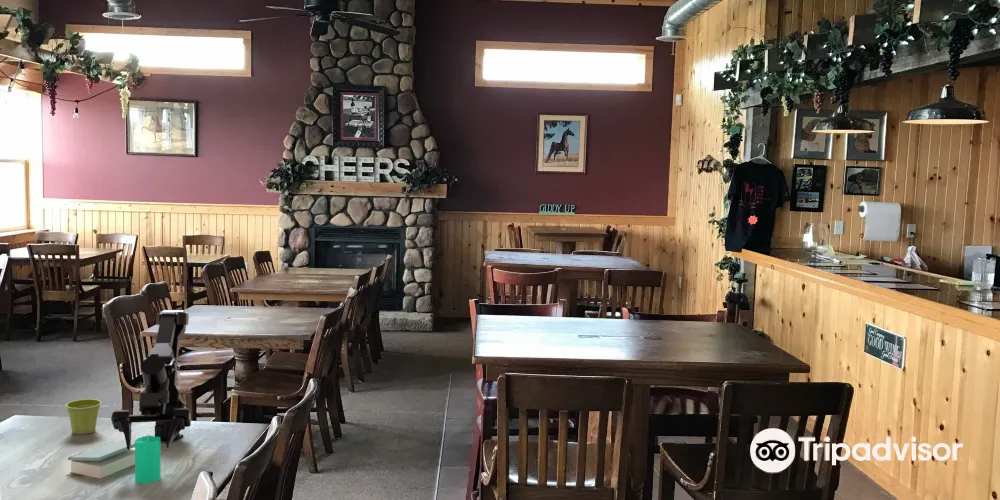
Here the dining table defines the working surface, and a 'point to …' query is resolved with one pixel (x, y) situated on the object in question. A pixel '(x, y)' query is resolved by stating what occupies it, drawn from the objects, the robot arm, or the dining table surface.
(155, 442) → the candle
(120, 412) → the robot arm
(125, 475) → the dining table surface
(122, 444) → the lid
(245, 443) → the dining table surface
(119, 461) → the small notepad
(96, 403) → the plant pot
